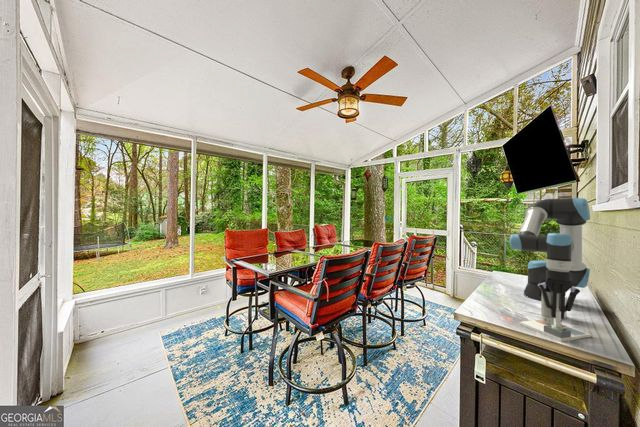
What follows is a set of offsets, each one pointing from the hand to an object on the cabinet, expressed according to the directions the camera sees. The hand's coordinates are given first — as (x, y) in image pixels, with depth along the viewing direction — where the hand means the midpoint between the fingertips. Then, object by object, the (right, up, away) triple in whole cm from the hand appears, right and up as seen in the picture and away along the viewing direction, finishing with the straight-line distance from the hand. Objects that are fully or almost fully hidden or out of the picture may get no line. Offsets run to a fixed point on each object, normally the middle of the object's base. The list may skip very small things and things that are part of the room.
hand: (557, 325), depth 102 cm
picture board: (+4, -5, +6) cm, 8 cm away
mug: (+19, -5, +21) cm, 29 cm away
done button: (0, -3, 0) cm, 3 cm away
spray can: (+7, -4, +10) cm, 13 cm away
